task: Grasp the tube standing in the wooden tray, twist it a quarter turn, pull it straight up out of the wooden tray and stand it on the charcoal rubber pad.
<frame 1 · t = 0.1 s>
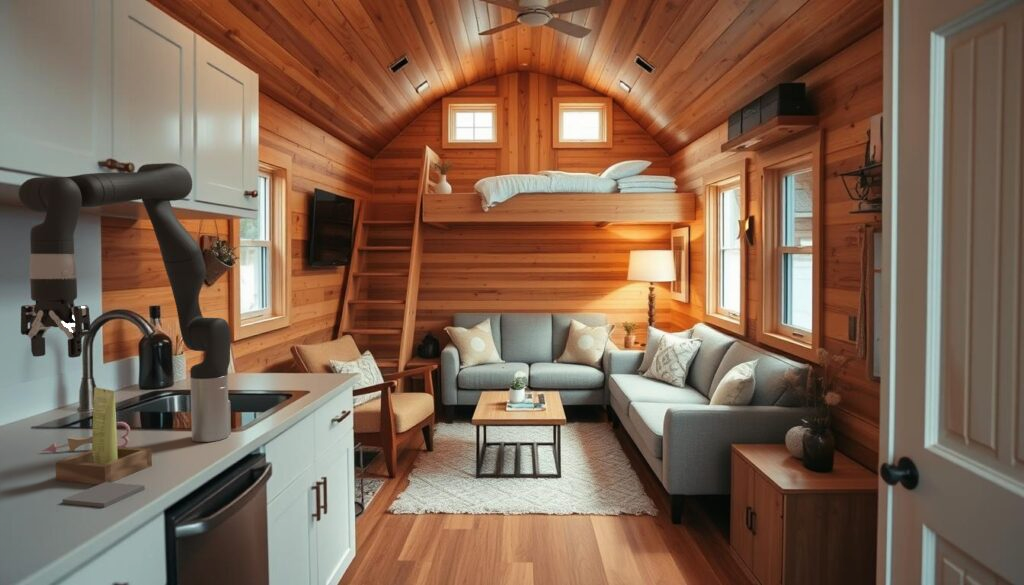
hand: (56, 356, 125), 29 cm above the worktop, fingers open, 8 cm apart
pad: (104, 496, 127), on the worktop
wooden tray: (105, 472, 141), on the worktop
decorative key: (86, 451, 159), on the worktop
tube: (105, 473, 141), resting in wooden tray
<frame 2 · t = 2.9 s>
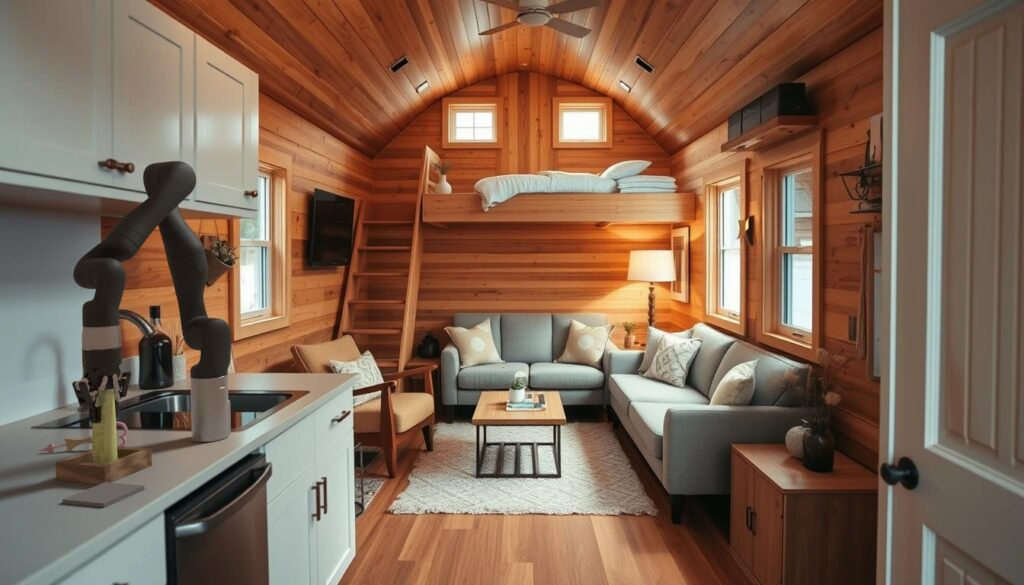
hand: (104, 419, 141), 12 cm above the worktop, fingers closed on tube, 4 cm apart
tube: (105, 473, 141), resting in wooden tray, touching gripper
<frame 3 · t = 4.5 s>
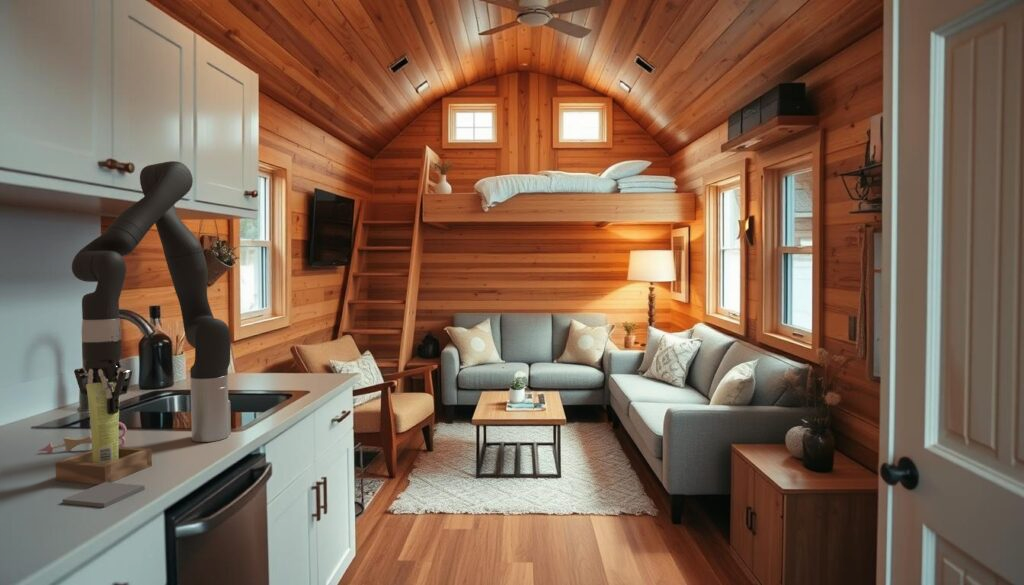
hand: (104, 412, 141), 14 cm above the worktop, fingers closed on tube, 4 cm apart
tube: (106, 466, 141), point 1 cm above the worktop, touching gripper
everything else where it was.
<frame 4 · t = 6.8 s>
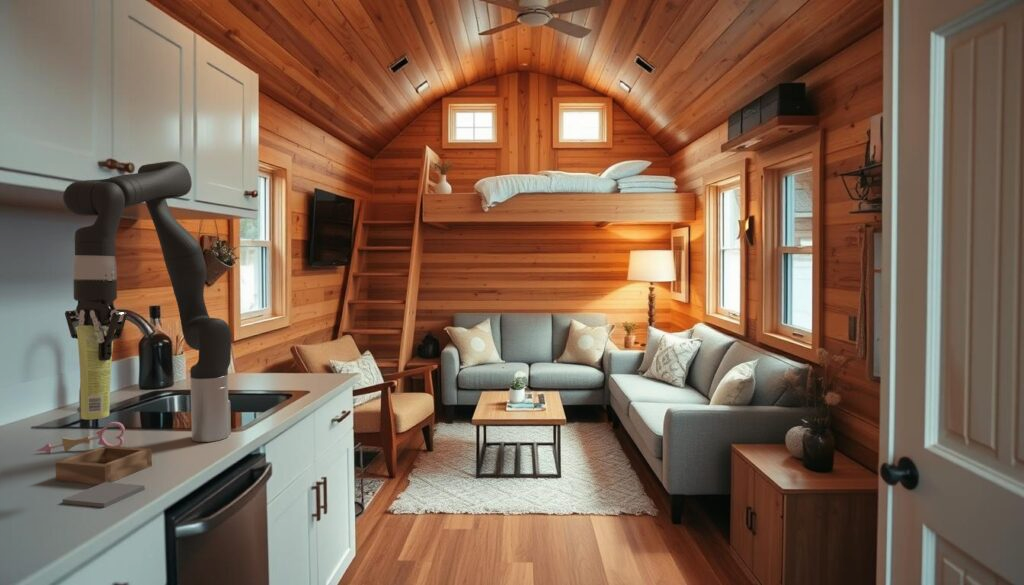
hand: (96, 359, 129), 28 cm above the worktop, fingers closed on tube, 4 cm apart
tube: (96, 418, 129), point 16 cm above the worktop, touching gripper
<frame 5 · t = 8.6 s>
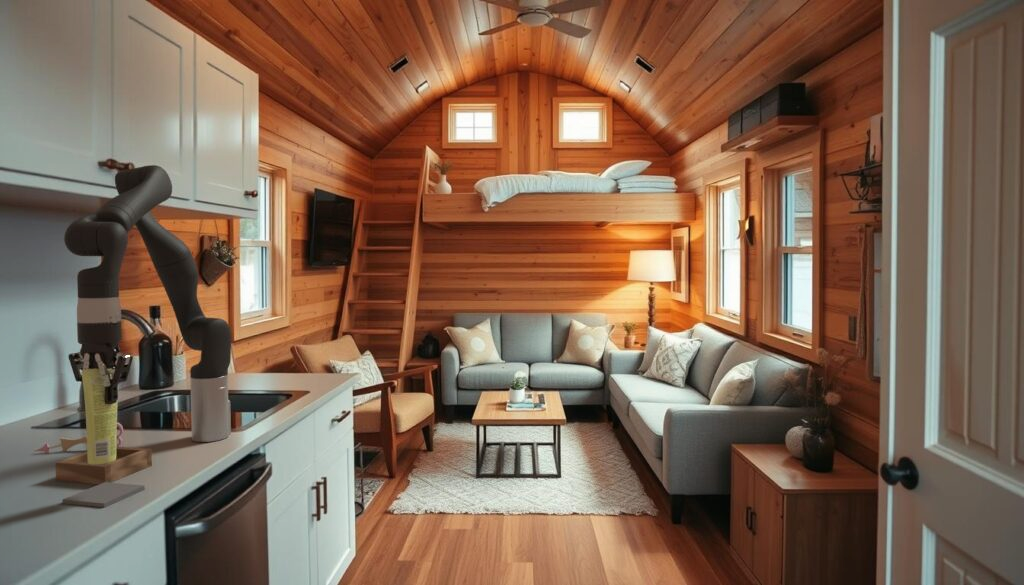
hand: (101, 402, 126), 20 cm above the worktop, fingers closed on tube, 4 cm apart
tube: (103, 462, 127), point 7 cm above the worktop, touching gripper
when the fingers open (14 cm above the worktop, at t = 10.4 s): tube drops 1 cm, resting on pad.
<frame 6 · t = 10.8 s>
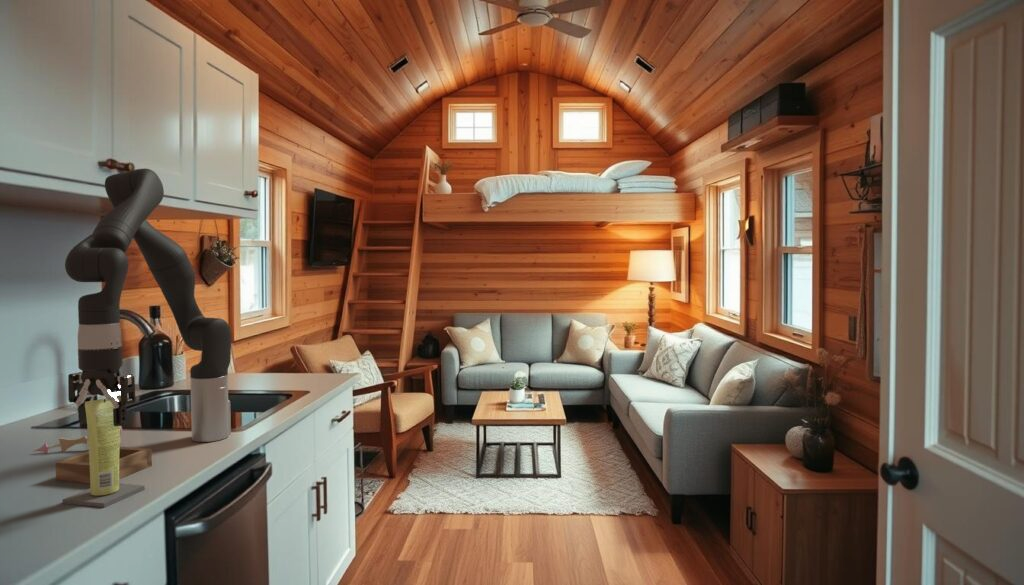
hand: (102, 424, 126), 15 cm above the worktop, fingers open, 8 cm apart
tube: (106, 492, 127), point 1 cm above the worktop, touching pad
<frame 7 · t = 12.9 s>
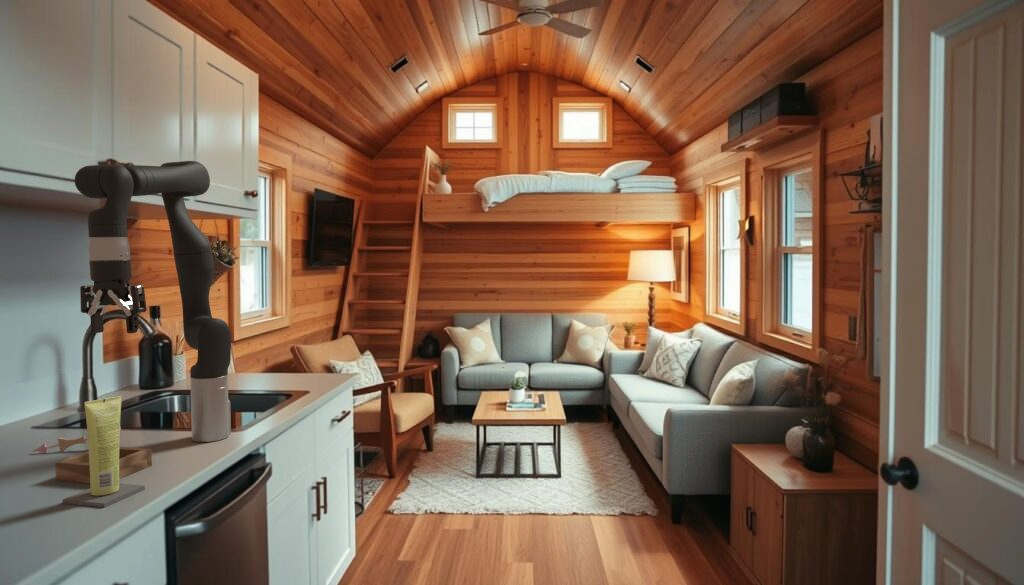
hand: (115, 332, 134), 33 cm above the worktop, fingers open, 8 cm apart
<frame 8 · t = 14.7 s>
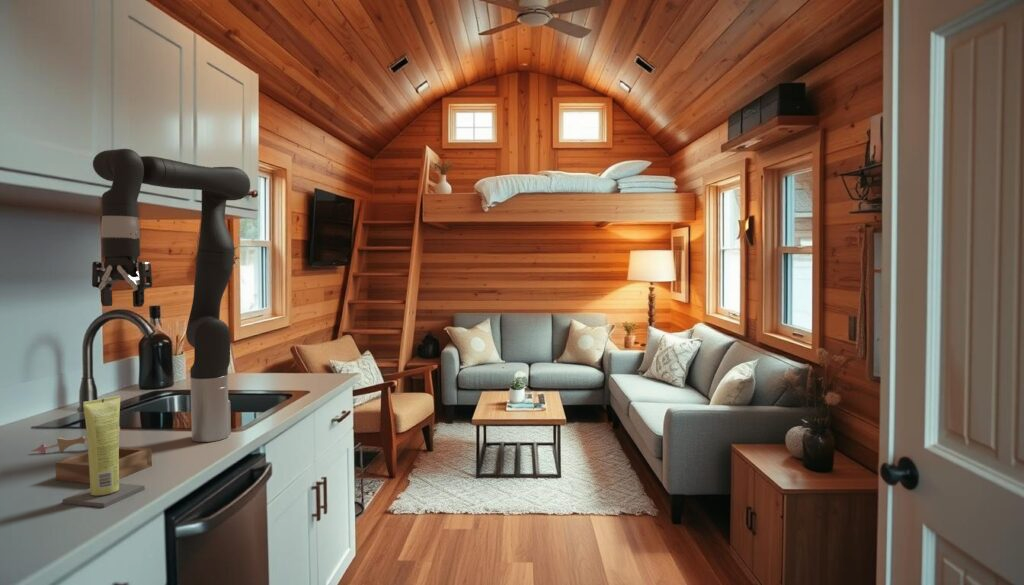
hand: (122, 306, 143), 38 cm above the worktop, fingers open, 8 cm apart
at the end: tube inside the target area on the pad (0.2 cm from its centre), point 0.6 cm above the pad's base; tube tilted 0°; the gripper is holding nothing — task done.
